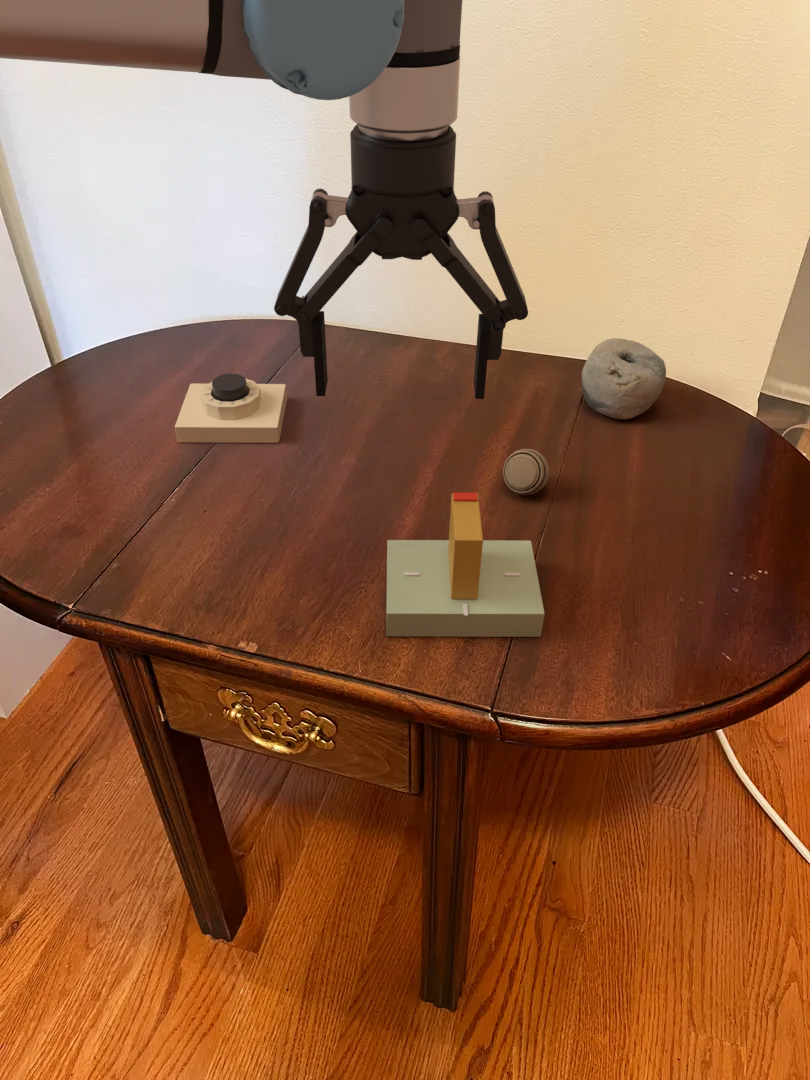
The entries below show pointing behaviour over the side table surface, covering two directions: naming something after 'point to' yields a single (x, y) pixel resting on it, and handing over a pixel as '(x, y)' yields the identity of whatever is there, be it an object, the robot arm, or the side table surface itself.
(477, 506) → the lock knob
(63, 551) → the side table surface
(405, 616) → the plate
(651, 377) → the stone
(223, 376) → the bell button
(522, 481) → the door knob
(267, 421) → the doorbell
